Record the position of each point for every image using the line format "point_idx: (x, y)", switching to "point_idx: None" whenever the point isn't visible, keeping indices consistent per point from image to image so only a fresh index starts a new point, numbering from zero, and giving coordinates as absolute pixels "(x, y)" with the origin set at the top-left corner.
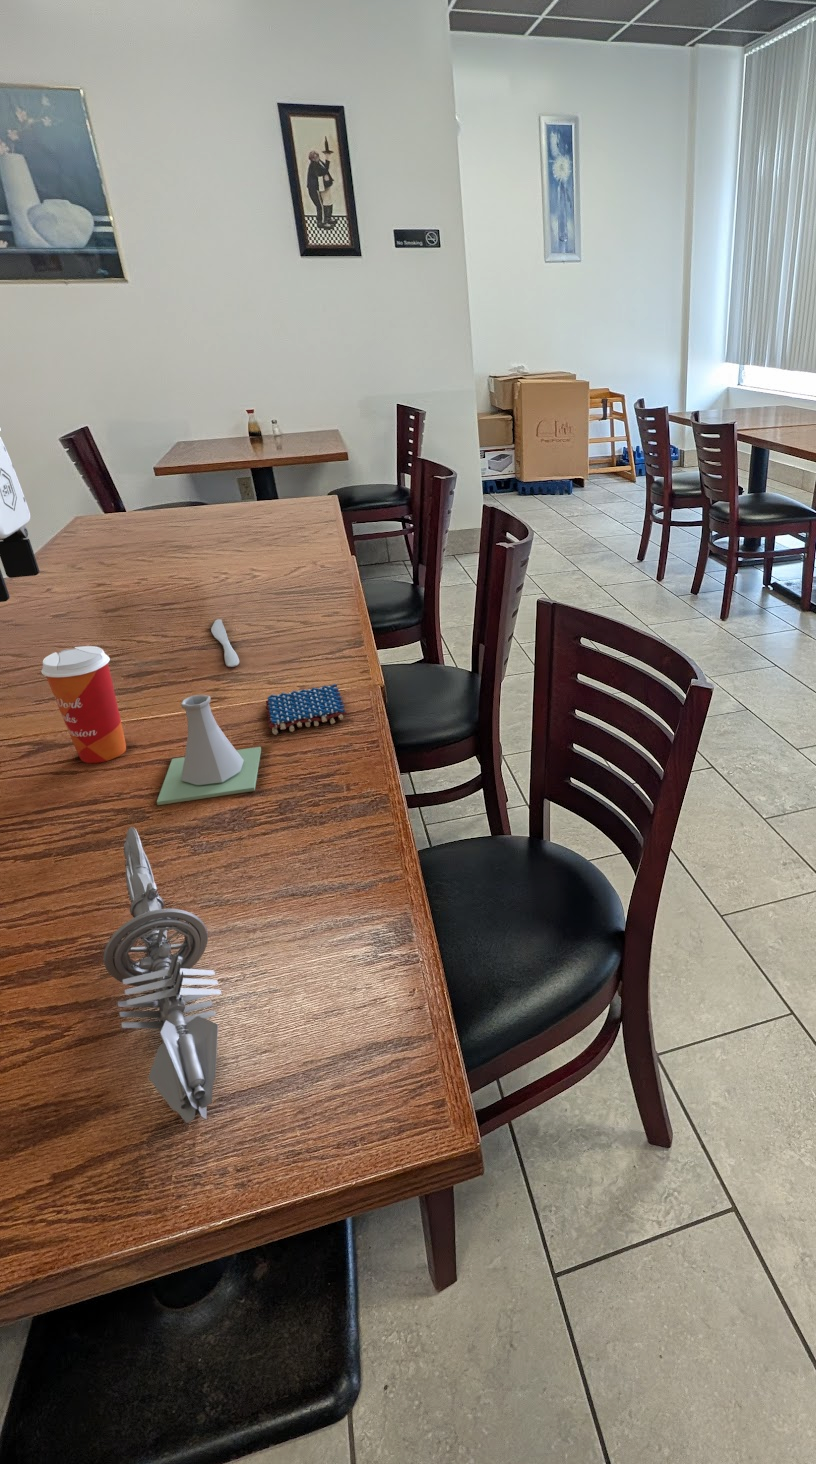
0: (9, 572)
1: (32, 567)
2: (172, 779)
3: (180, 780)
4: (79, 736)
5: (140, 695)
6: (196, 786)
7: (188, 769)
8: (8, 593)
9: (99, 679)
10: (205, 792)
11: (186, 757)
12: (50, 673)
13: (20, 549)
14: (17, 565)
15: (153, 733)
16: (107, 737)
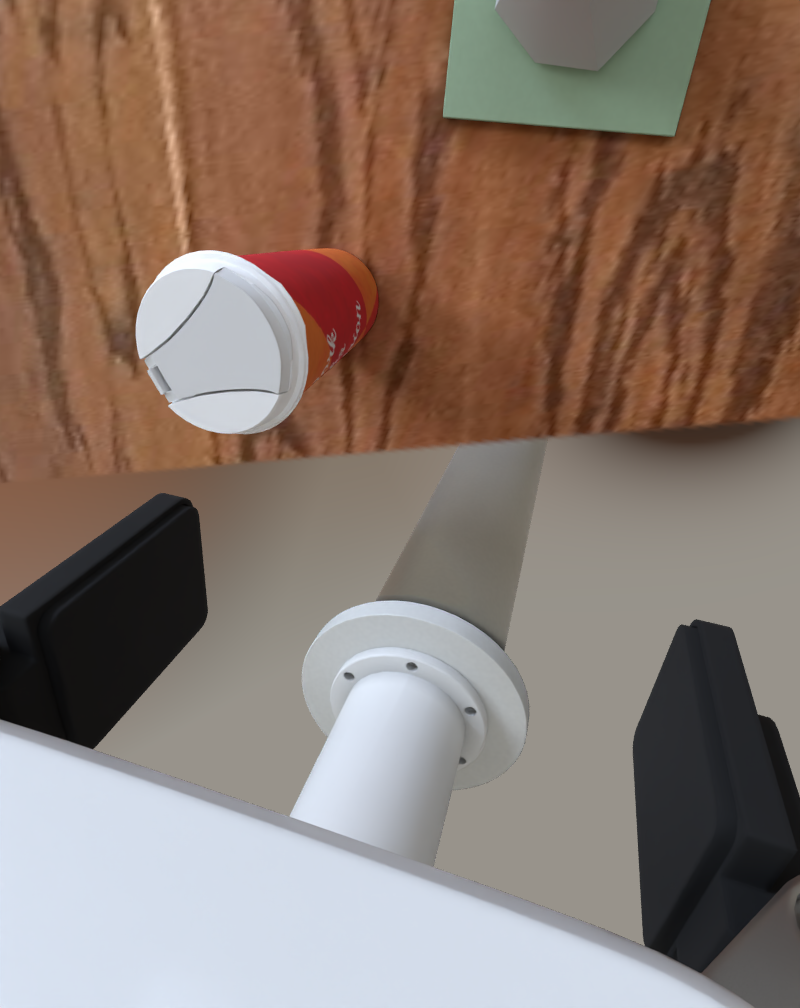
0: (193, 622)
1: (171, 532)
2: (567, 102)
3: (584, 76)
4: (355, 340)
5: (65, 241)
6: (646, 20)
7: (614, 29)
8: (703, 636)
9: (283, 280)
10: None
11: (598, 23)
12: (283, 409)
13: (98, 630)
14: (168, 604)
15: (268, 189)
16: (356, 279)
